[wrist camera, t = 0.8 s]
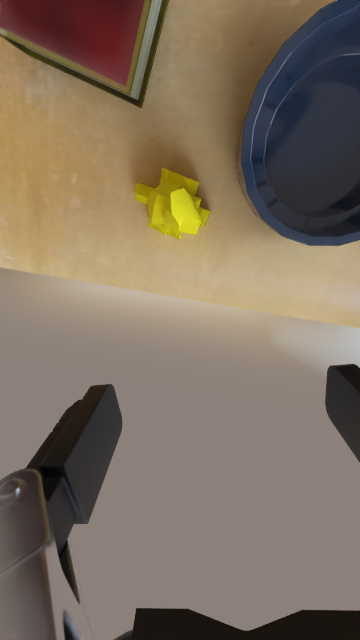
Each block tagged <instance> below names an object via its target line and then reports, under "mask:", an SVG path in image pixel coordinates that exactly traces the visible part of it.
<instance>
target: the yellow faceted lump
mask: <svg viewBox="0 0 360 640" xmlns="http://www.w3.org/2000/svg"><path fill="white" fill-rule="evenodd" d="M198 186H199V182H197V181H194V180H192V179H189V178H187V177H184V176H182V175H179V174H177V173H174V172H172V171H170V170H167V169H165V168H162V175H161V180H160V184H159V186H158V187H156V188H152V187H150V186H147V185H145V184H142V183H136V186H135V191H134V198H135V200H137V201H139V202H141V203H143V204H146V205H148V216H149V218H150V220H149V224H148V227H150V228H153V229H155V230H157V231H159V232H161V233H162V234H164V235H166V234H168V235H171V236H173V237H175V238H176V239H178V240H179V239H180V237H181V236H182V233H183V232H185V233H189V234H193V235H196V233H197V231H198V228H199V226H202V227H205V224H206V221H207V219H208V216H209V214H210V210H207V209H205V208H202V207H200V206H199V205H200V202H201V199H200V198H198V197H195V195H196V192H197V189H198Z"/></svg>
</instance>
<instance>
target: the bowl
mask: <svg viewBox="0 0 360 640" xmlns="http://www.w3.org/2000/svg"><path fill="white" fill-rule="evenodd" d="M237 171H238V176H239V181H240V186H241V190H242V194H243V196H244V198H245V199H246V201H247V203H248V205H249V206H250V208H251V210H252V211H253V213H254V214H255V215H256V216H257V217H258V218H259V219H260V220H262V221H263V222H264V223H265V224H266V225H268V226H269V227H270V228H271V229H273V230H274V231H275V232H277V233H278V234H280V235H281V236H283V237H286V238H288V239H291V240H294V241H297V242H300V243H303V244H305V245H309V246H340V245H343V244H347V243H351V242H354V241H358V240H360V0H337V1H335V2H333V3H331V4H329V5H327V6H325V7H323V8H321V9H320V10H319V11H317V12H316V13H315V14H314V15H313V16H312V17H311V18H310V19H309V20H308V21H307V22H306V23H305V24H303V25H302V26H301V27H300V28H299V29H298V30H297V31H296V32H295V33H294V34H293V35H292V36H291V37H290V38H288V39H287V40H286V41H285V42H284V44H283V45H282V46H281V48H280V49H279V51H278V52H277V54H276V56H275V57H274V59H273V60H272V62H271V63H270V65H269V66H268V68H267V70H266V71H265V73H264V74H263V76H262V77H261V79H260V80H259V82H258V84H257V87H256V90H255V93H254V95H253V98H252V101H251V104H250V107H249V110H248V113H247V115H246V118H245V121H244V124H243V127H242V130H241V133H240V136H239V144H238V157H237Z"/></svg>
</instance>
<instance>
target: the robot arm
mask: <svg viewBox="0 0 360 640" xmlns="http://www.w3.org/2000/svg"><path fill="white" fill-rule="evenodd" d="M325 405H326V410H327V413H328V416H329V418H330V420H331V421H332V423H333V424H334V426H335V427H336V429H337V430H338V432H339V433H340V434H341V436H342V437H343V439H344V440H345V442H346V443H347V445H348V446H349V447H350V449H351V450H352V452H353V453H354V455H355V456H356V458H357V459H358V461H359V462H360V368H359V367H358V366H357V365H355V364H346V365H335V366H330V367H329V368H328V371H327V384H326V399H325ZM121 430H122V415H121V412H120V408H119V404H118V401H117V397H116V393H115V390H114V387H113V386H112V385H111V384H106V385H95V386H91V387H90V388H89V390H88V391H87V393H86V394H85V396H84V397H83V399H82V400H78V401H77V402H75V403H74V404H73V405H72V406H71V407H69V408H68V409H67V410H66V411H65V413H64V414H63V416H62V417H61V419H60V420H59V423H57V424H56V426H55V427H54V429H53V432H51V433H50V434H49V436H48V437H47V439H46V440H45V441H44V443H43V444H42V446H41V447H40V448H39V450H38V451H37V453H36V454H35V456H34V457H33V458H32V460H31V461H30V463H29V464H28V465H27V467H26V468H25V469H21V470H18V471H15V472H13V473H11V474H9V475H7V476H6V477H5V478H3V479H1V480H0V640H94V636H93V633H92V630H91V627H90V624H89V621H88V618H87V614H86V611H85V606H84V602H83V597H82V593H81V588H80V583H79V579H78V574H77V570H76V566H75V561H74V556H73V552H72V548H71V542H70V539H69V537H68V536H69V534H70V531H71V529H72V527H73V524H88V522H89V519H90V516H91V514H92V511H93V508H94V505H95V503H96V500H97V497H98V494H99V491H100V489H101V486H102V483H103V481H104V478H105V475H106V472H107V470H108V467H109V464H110V461H111V459H112V456H113V453H114V450H115V448H116V445H117V442H118V439H119V437H120V433H121ZM114 640H360V611H341V610H339V611H338V610H301V611H299V612H296V613H293V614H291V615H289V616H286V617H283V618H281V619H278V620H276V621H273V622H271V623H268V624H266V625H263V626H261V627H258V628H256V629H253V630H250V631H244V630H240V629H237V628H235V627H232V626H230V625H227V624H224V623H222V622H220V621H217V620H214V619H212V618H210V617H207V616H205V615H202V614H200V613H197V612H195V611H192V610H189V609H152V608H137V609H136V614H135V621H134V627H133V630H131V631H128V632H126V633H124V634H122V635H121V636H119V637H118V638H116V639H114Z"/></svg>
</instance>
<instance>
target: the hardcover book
mask: <svg viewBox="0 0 360 640" xmlns="http://www.w3.org/2000/svg"><path fill="white" fill-rule="evenodd" d="M168 1H169V0H0V36H1V37H3V38H4V39H5V40H7V41H8V42H9V43H11V44H12V45H14V46H15V47H17V48H18V49H20V50H21V51H23V52H24V53H26V54H27V55H29V56H31V57H33V58H36V59H38V60H40V61H42V62H44V63H46V64H48V65H51V66H53V67H55V68H57V69H59V70H61V71H63V72H65V73H68V74H70V75H72V76H74V77H76V78H78V79H80V80H83V81H85V82H87V83H89V84H91V85H93V86H95V87H97V88H100V89H102V90H104V91H106V92H108V93H110V94H112V95H115V96H117V97H119V98H121V99H123V100H125V101H127V102H129V103H132V104H134V105H136V106H138V107H140V108H142V105H143V101H144V97H145V93H146V89H147V85H148V81H149V77H150V73H151V69H152V65H153V61H154V57H155V53H156V49H157V45H158V41H159V37H160V33H161V29H162V25H163V21H164V17H165V13H166V9H167V5H168Z"/></svg>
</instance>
